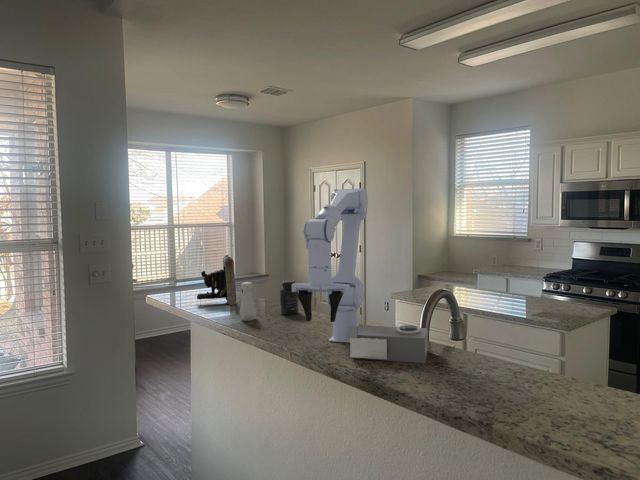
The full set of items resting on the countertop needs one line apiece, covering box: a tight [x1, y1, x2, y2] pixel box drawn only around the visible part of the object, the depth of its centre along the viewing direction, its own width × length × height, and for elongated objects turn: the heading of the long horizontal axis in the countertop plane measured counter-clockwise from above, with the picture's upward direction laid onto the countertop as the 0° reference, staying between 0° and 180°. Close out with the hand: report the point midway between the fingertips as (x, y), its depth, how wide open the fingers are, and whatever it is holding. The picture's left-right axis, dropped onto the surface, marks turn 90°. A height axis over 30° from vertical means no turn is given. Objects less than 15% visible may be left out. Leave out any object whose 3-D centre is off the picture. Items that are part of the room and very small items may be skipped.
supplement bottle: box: [279, 279, 300, 316], centre depth 170 cm, size 7×7×12 cm
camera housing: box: [351, 324, 429, 364], centre depth 118 cm, size 10×18×7 cm, turn 74°
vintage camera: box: [196, 254, 237, 306], centre depth 190 cm, size 10×16×20 cm, turn 107°
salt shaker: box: [239, 281, 257, 322], centre depth 161 cm, size 6×6×13 cm
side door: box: [349, 325, 387, 361], centre depth 113 cm, size 1×9×8 cm, turn 74°
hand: (320, 320), depth 116 cm, fingers open, 6 cm apart
